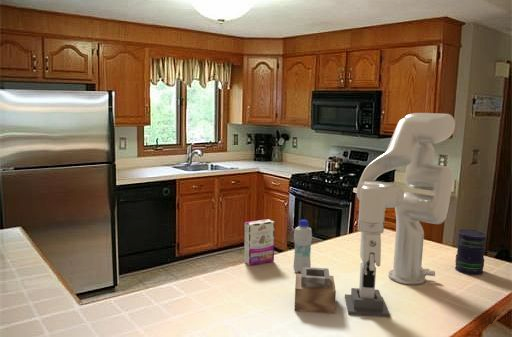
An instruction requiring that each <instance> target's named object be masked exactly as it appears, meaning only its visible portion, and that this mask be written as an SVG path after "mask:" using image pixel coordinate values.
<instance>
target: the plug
mask: <svg viewBox="0 0 512 337" xmlns="http://www.w3.org/2000/svg"><path fill="white" fill-rule="evenodd" d="M367 264H369V263H367ZM368 268H369V267H367V269H368ZM359 269H360V272H359V273H360V274H359V285H358V286H359V295H360V298H370V299H374V293H375V290H376V289H375V288H376V279H377V278H376V275H377V273H376V272H377V268H376V266H375V279H374V288H367V287H363V276H364V274H365V265H364V264H363V262H362V261H361V263H360V268H359Z"/></svg>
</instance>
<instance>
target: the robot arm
mask: <svg viewBox="0 0 512 337" xmlns="http://www.w3.org/2000/svg"><path fill="white" fill-rule="evenodd" d="M455 128H456V121H455V119H454V117H453V115H451V114H450V113H438V112H437V113H436V112H434V113H433V112H432V113H431V112H413V113H409V114H406V115H405V116H404V117H403V118H401V119H400V120H399V121H398V122H397V124H396V127H395V129H394V131H393V134H392V136H391V138H390V142H388V146H387V149H386V150H385V152H384V153H383V154H381V155H379V156H377V157H376V158H375V159H374V160H372V161H371V162H370V163H369V164H368V165H366V167H365V168H364V170H363V172H362V173H361V176H360V178H359V181H358V184H357V187H356V197H357V199H358V200H359V204H358V206H359V207H358V221H357V222H358V223H357V231H358V232H360V249H359V250H360V251H359V252H360V253H359V254H360V260H361V263H362V262H363V264H364V265H365V274H364V276H363V287H367V288H374V279H375V280H376V278H375V267H376V266H377V267H380V266H381V261H382V258H381V256H382V254H381V253H382V239H381V238H382V237H381V236H382V235H381V234H383V233H384V231H385V230H384V228H385V213H386V209H390V208H392V209H394V212H395V219H396V222H395V223H396V224H395V226H396V227H395V237H394V238H395V242H394V256H393V269H392V270H390V271H389V272H388V277H389V279H391V280H392V281H394V282H397V283H399V284H404V285H421V284H423V283H425V282H426V276H429V277H436V271H435V270H430V268H423V267H422V265H423V264H422V262H423V253H424V252H423V251H424V250H423V249H424V238H425V231H424V229H423V226H422V224H421V222H423V223H427V224H434V225H441V224H443V223H444V222H445V221H446V219H447V216H448V213H449V212H448V211H449V207H450V201H451V196H452V190H453V183H454V175H453V171H452V169H451V168H450V167H449V166H445V165H441V164H440V165H439V164H434V160H435V154H436V152H435V148H434V146H433V144H439V143H441V142H443V141H445V140H448V139H449V138H450V137H451V136H452V135H453V134H454V132H455ZM403 167H406V169H405V175H404V183H405V186H406V187H408V188H409V189H413V190H417V191H423V192H424V191H425V192H431V193H434V195H431V194H424V193H416V192H408V191H406V192H404V189H403V187H402V186H400V185H399V184H397V183H392V182H387V181H386V182H385V181H379V180H377V178H378V177H380V176H381V175H383V174H385V173H388V172H390V171H393V170H398V169H400V168H403ZM367 263H369V264H367ZM367 267H369V268H368V269H367Z"/></svg>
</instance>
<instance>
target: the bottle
mask: <svg viewBox="0 0 512 337" xmlns="http://www.w3.org/2000/svg"><path fill="white" fill-rule="evenodd" d="M298 224H299V225H298V226H297V227H295V228H294V234H293V238H294V239H293V241H294V257H293V271H294V272H295V274H300V273H301V272H302V267H310V268H312V267H311V265H312V264H311V262H312V261H311V253H312V252H311V250H312V242H313V240H312V239H313V233H312V228H311V227H309V221H308V220H307V219H300V220H299V222H298Z"/></svg>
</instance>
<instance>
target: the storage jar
mask: <svg viewBox="0 0 512 337" xmlns="http://www.w3.org/2000/svg"><path fill="white" fill-rule="evenodd" d="M456 239H457V242H456V246H457V250H456V251H457V252H456V254H455V266H454V270H455V271H457V272H458V273H460V274H463V275H467V276H481V275H483V273H484V271H483V270H484V267H485V250H486V249H487V247H486V245H487V234H486V233H485V232H483V231H481V230H480V231H479V230H473V229H459V230H458V234H457V238H456Z"/></svg>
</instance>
